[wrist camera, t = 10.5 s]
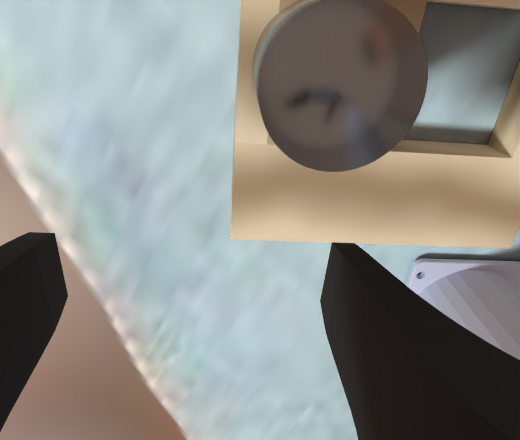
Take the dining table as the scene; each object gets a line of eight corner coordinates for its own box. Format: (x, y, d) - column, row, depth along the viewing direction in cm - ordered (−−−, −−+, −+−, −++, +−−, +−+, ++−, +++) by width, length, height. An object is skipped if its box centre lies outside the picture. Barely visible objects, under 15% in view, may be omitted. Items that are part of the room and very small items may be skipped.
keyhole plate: (488, 229, 22) (510, 248, 21) (230, 219, 21) (230, 239, 19) (643, -132, 15) (698, -151, 13) (249, -186, 13) (252, -216, 11)
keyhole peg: (345, 123, 19) (398, 178, 13) (243, 112, 18) (249, 164, 12) (372, 7, 16) (453, 8, 10) (256, -10, 16) (271, -18, 10)
